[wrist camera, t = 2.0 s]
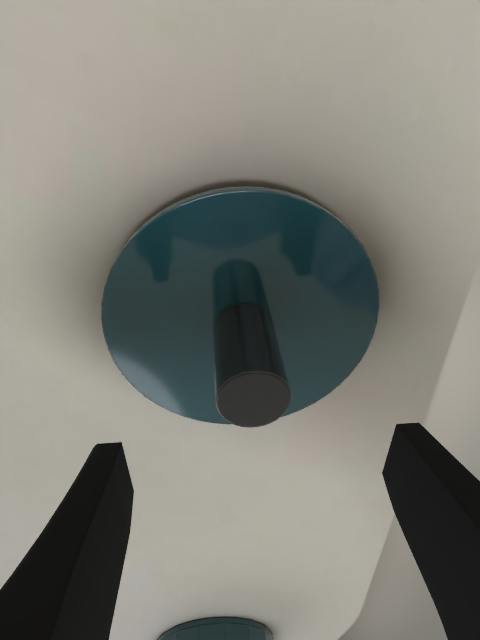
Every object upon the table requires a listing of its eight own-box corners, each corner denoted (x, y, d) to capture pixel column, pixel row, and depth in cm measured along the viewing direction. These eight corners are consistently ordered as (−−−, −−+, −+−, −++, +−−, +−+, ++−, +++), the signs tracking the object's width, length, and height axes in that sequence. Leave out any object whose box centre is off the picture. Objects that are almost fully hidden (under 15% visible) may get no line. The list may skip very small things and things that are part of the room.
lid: (393, 176, 14) (474, 229, 10) (350, 400, 20) (389, 493, 16) (79, 185, 14) (23, 245, 9) (129, 414, 20) (109, 514, 15)
